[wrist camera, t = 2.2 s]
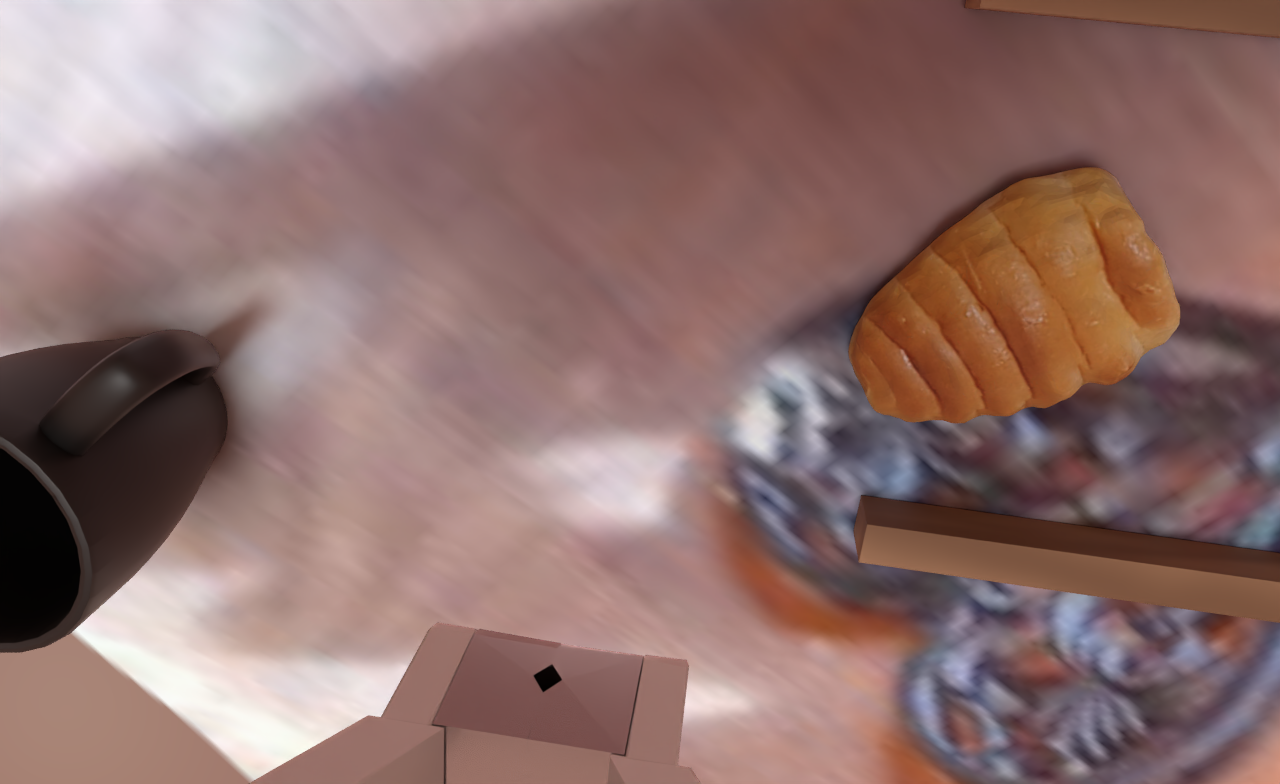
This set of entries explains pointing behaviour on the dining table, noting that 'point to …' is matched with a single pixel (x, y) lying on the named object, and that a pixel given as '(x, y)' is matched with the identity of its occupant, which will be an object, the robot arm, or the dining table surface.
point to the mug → (96, 470)
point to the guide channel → (1076, 553)
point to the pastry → (1018, 305)
